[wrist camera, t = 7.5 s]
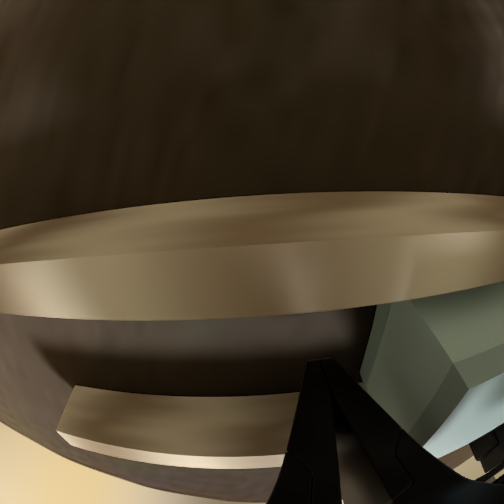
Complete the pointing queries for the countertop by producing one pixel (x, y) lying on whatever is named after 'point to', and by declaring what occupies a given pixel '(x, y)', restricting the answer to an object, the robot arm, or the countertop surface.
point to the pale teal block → (440, 365)
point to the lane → (236, 293)
